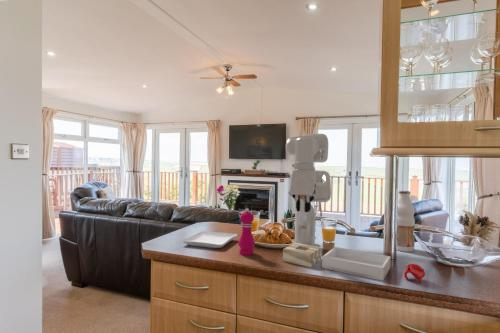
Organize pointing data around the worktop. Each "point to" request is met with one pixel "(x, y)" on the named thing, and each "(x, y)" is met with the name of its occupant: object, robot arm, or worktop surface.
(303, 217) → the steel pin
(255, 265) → the worktop surface
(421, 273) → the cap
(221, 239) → the salad plate
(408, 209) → the fruit juice
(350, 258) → the tray
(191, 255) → the worktop surface
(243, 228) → the pepper mill
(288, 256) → the pin block
